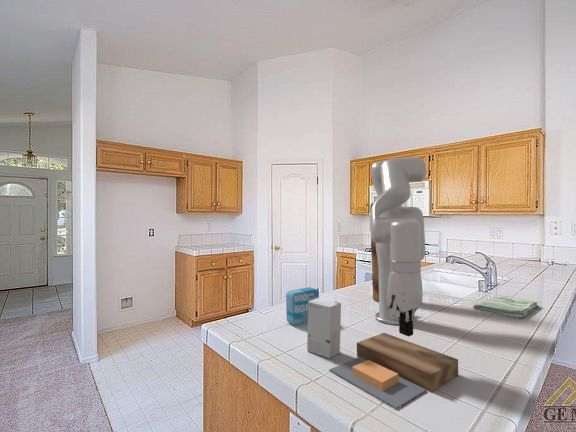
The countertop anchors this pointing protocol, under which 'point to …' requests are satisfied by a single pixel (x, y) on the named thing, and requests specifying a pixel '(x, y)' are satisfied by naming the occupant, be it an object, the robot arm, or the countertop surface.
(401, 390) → the mat
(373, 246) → the brown wooden post
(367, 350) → the brown wooden block
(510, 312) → the dish towel
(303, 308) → the data package
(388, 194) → the robot arm
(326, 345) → the skincare box
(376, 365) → the tan foam pad
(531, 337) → the countertop surface
